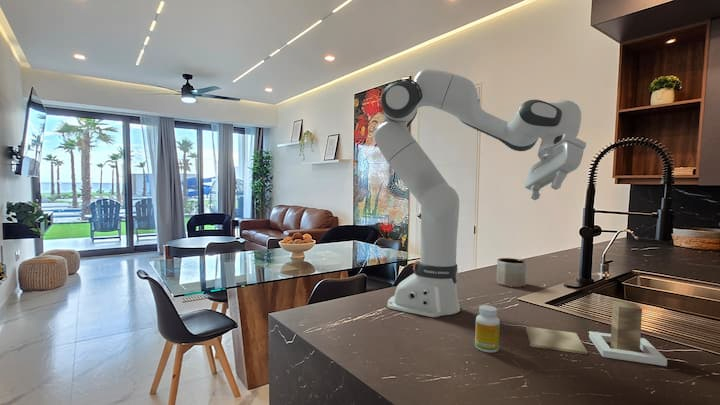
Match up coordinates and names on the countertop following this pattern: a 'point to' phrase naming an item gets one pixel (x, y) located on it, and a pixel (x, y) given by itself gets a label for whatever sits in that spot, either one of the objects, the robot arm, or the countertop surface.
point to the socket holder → (648, 356)
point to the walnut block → (626, 326)
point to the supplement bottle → (487, 329)
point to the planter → (511, 272)
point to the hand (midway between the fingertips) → (544, 193)
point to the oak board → (555, 340)
